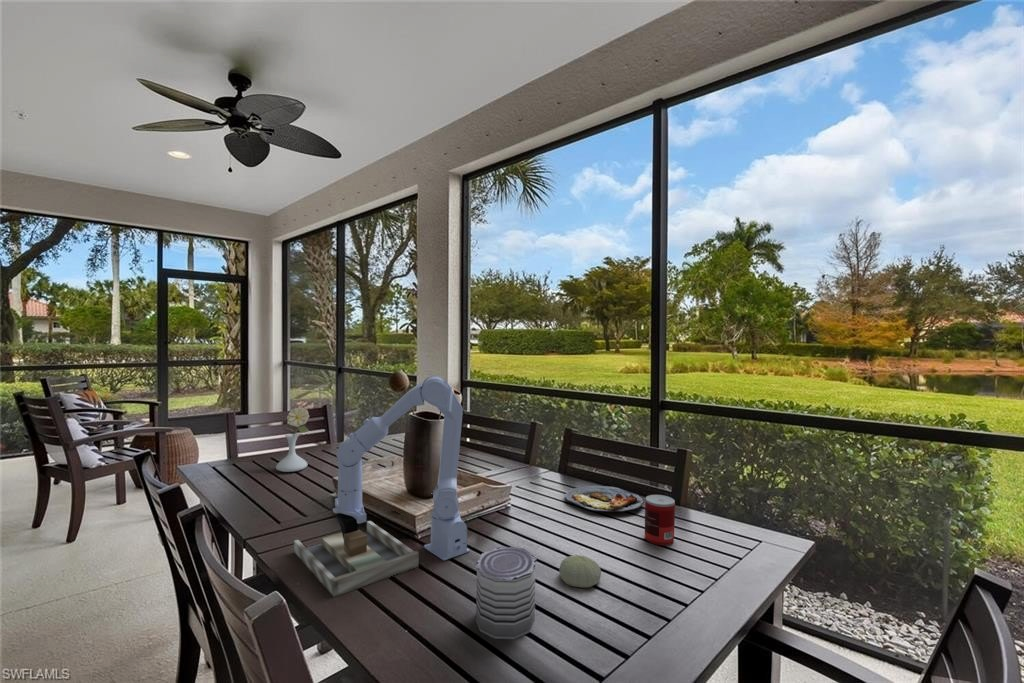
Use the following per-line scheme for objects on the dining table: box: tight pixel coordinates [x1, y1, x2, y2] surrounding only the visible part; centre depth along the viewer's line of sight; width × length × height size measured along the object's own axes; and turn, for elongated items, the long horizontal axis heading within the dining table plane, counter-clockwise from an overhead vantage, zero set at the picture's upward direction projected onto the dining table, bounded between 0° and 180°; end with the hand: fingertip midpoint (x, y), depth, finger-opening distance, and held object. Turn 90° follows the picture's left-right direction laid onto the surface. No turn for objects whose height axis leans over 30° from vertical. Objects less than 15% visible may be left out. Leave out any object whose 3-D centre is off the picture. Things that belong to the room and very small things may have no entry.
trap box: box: [293, 520, 420, 598], centre depth 115 cm, size 26×20×3 cm
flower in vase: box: [275, 406, 310, 473], centre depth 187 cm, size 13×11×25 cm
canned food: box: [644, 494, 676, 546], centre depth 129 cm, size 8×8×11 cm
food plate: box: [564, 485, 645, 513], centre depth 157 cm, size 25×23×4 cm
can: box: [474, 546, 538, 640], centre depth 91 cm, size 11×11×12 cm
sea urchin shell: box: [558, 554, 602, 589], centre depth 107 cm, size 9×8×8 cm
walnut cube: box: [344, 529, 367, 557], centre depth 115 cm, size 4×4×4 cm
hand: (349, 543), depth 117 cm, fingers closed
